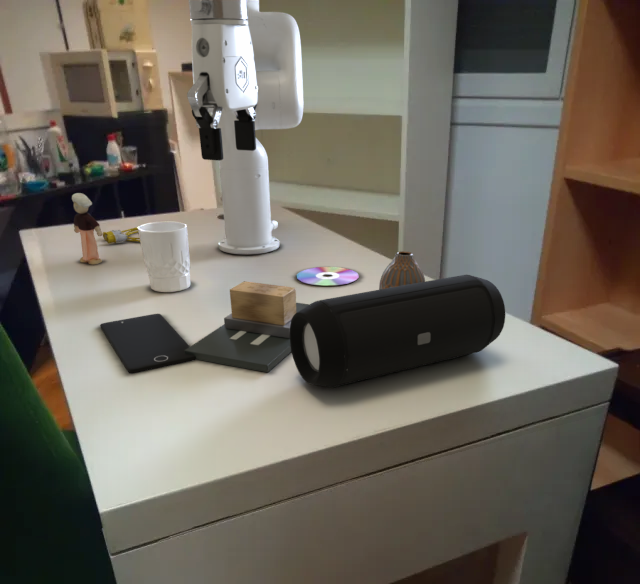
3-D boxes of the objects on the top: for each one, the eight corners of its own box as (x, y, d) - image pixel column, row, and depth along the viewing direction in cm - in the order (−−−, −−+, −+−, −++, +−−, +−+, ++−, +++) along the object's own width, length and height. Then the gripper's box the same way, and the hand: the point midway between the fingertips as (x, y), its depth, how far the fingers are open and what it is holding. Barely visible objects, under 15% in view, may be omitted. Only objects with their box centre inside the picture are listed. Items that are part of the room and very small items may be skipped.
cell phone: (129, 377, 73) (128, 370, 72) (100, 329, 86) (99, 323, 86) (199, 362, 76) (198, 355, 76) (160, 318, 90) (159, 312, 89)
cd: (372, 277, 105) (372, 276, 105) (323, 290, 99) (323, 289, 99) (331, 263, 113) (331, 263, 113) (283, 274, 107) (283, 274, 107)
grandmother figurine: (70, 262, 115) (54, 193, 108) (84, 257, 118) (69, 190, 111) (102, 266, 112) (88, 196, 106) (115, 261, 115) (102, 192, 109)
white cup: (183, 295, 98) (175, 233, 93) (139, 292, 99) (128, 231, 94) (201, 280, 104) (194, 222, 99) (159, 278, 106) (150, 220, 101)
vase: (427, 305, 93) (432, 249, 88) (418, 321, 87) (423, 261, 82) (384, 301, 94) (386, 245, 90) (373, 316, 89) (375, 257, 84)
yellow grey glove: (105, 233, 136) (104, 224, 135) (175, 229, 139) (174, 220, 138) (101, 246, 125) (99, 236, 124) (177, 241, 129) (176, 232, 128)
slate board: (263, 303, 94) (263, 297, 93) (334, 313, 90) (334, 307, 89) (185, 357, 77) (184, 349, 76) (267, 372, 72) (267, 364, 72)
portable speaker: (324, 407, 65) (324, 320, 60) (287, 372, 73) (284, 292, 67) (503, 361, 75) (516, 283, 70) (454, 334, 82) (462, 263, 77)
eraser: (224, 328, 82) (221, 289, 79) (242, 316, 86) (239, 279, 83) (289, 338, 79) (288, 298, 76) (305, 325, 83) (304, 287, 80)
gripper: (208, 8, 69) (222, 165, 79) (273, 14, 83) (279, 148, 92) (155, 9, 72) (174, 162, 81) (227, 15, 85) (236, 145, 95)
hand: (230, 154), depth 87 cm, fingers open, 9 cm apart
